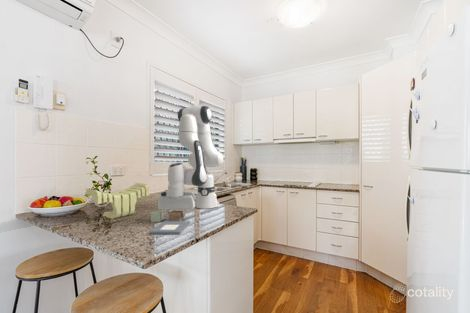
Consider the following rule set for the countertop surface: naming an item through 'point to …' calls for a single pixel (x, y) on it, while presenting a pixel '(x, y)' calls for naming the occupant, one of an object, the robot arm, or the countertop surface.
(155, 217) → the sage block
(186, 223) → the slate board
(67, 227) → the countertop surface
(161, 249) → the countertop surface
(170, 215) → the walnut block
